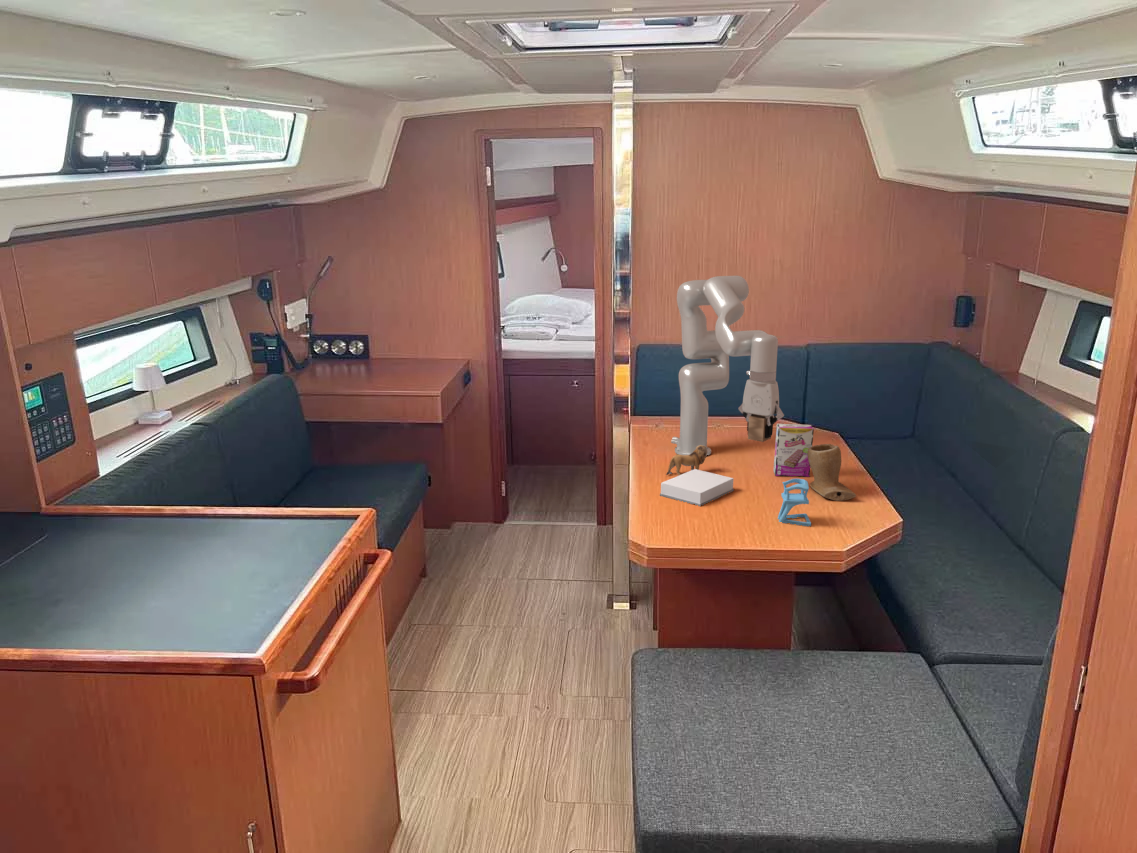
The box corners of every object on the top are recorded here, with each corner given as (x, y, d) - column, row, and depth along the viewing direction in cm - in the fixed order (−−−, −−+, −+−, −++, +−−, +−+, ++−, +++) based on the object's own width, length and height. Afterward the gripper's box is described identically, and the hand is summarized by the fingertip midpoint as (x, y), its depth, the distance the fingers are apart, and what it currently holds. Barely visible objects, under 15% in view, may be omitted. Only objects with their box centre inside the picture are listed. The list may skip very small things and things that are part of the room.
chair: (776, 515, 241) (778, 475, 238) (806, 516, 240) (809, 475, 237) (780, 526, 234) (782, 484, 231) (811, 526, 233) (813, 484, 230)
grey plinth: (659, 495, 258) (660, 482, 257) (694, 480, 271) (694, 468, 270) (700, 506, 249) (700, 493, 247) (733, 490, 262) (734, 478, 261)
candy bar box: (775, 476, 275) (778, 427, 270) (773, 472, 280) (775, 423, 275) (810, 477, 274) (814, 428, 269) (808, 472, 278) (811, 424, 274)
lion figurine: (701, 468, 283) (702, 442, 281) (710, 473, 278) (711, 446, 276) (662, 474, 278) (662, 447, 275) (670, 479, 273) (671, 452, 271)
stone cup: (799, 486, 265) (802, 440, 261) (837, 485, 266) (840, 439, 262) (816, 503, 251) (820, 454, 247) (856, 502, 252) (860, 453, 248)
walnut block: (747, 438, 258) (748, 416, 256) (756, 435, 262) (757, 413, 260) (762, 441, 255) (764, 419, 253) (770, 438, 259) (772, 415, 257)
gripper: (731, 374, 256) (728, 433, 261) (783, 382, 245) (779, 443, 250) (743, 371, 262) (740, 428, 266) (795, 378, 251) (791, 438, 256)
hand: (759, 435), depth 258 cm, fingers closed on walnut block, 5 cm apart
